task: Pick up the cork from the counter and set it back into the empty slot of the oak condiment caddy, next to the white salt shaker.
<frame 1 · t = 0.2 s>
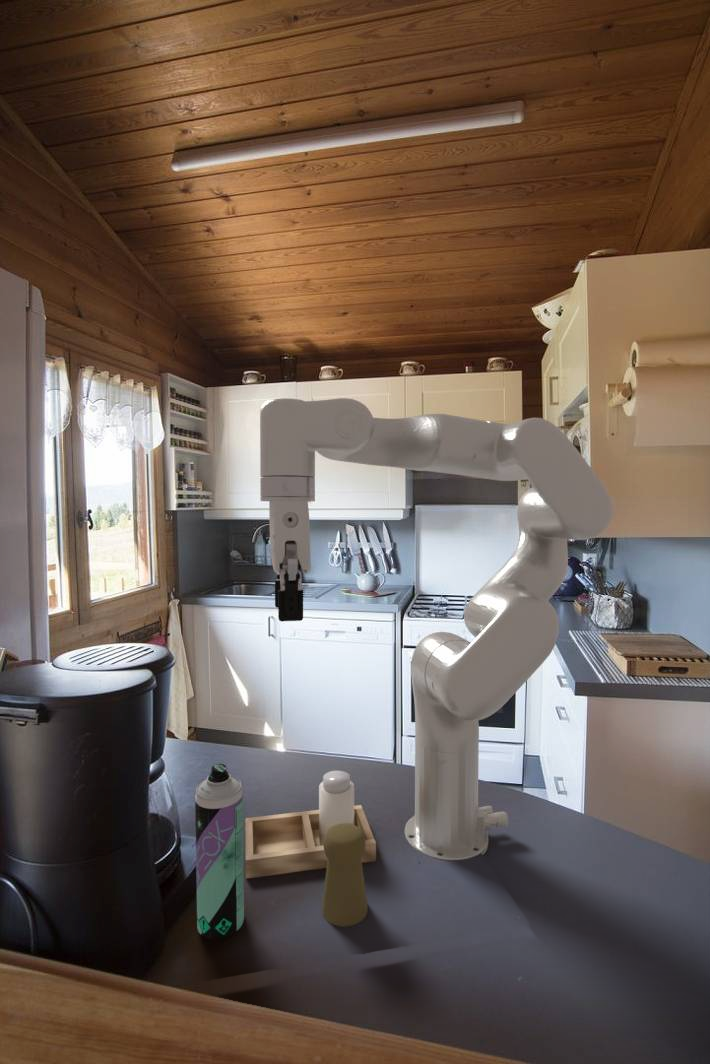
hand: (288, 613, 75), 36 cm above the countertop, tool pointing down, fingers open, 9 cm apart
salt shaker: (336, 843, 80), point 1 cm above the countertop, touching caddy
caddy: (308, 853, 79), on the countertop
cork: (344, 917, 67), on the countertop
spray can: (220, 930, 65), on the countertop
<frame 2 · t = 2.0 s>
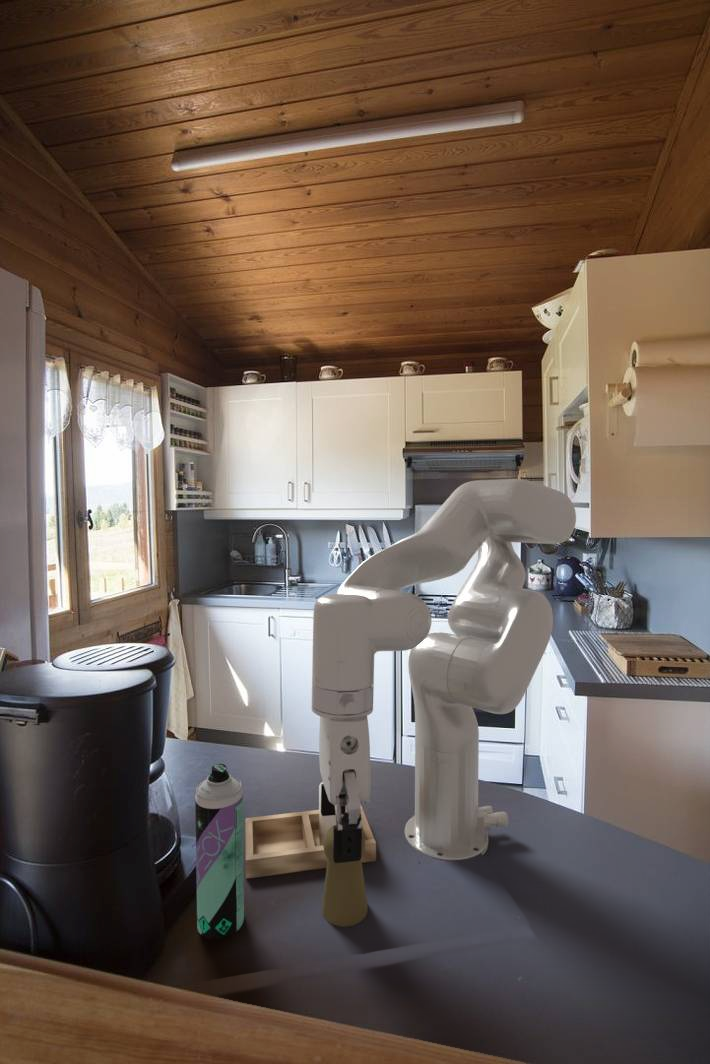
hand: (339, 835, 66), 11 cm above the countertop, tool pointing down, fingers open, 9 cm apart
nothing on the countertop moved.
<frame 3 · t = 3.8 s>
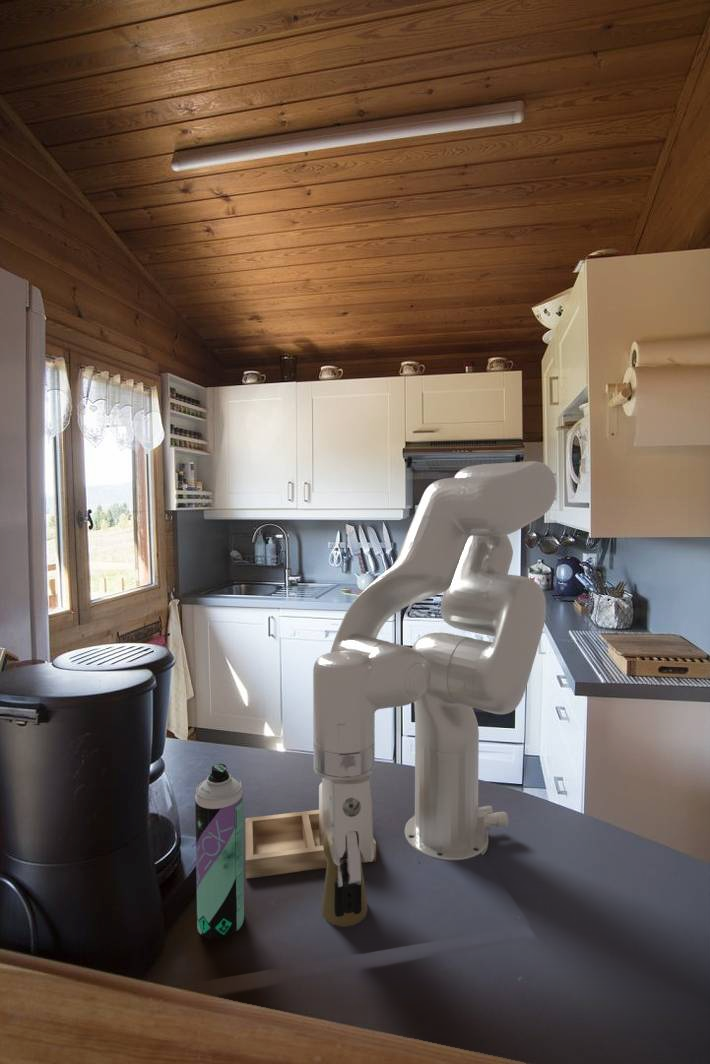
hand: (344, 897, 67), 2 cm above the countertop, tool pointing down, fingers closed on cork, 4 cm apart
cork: (344, 917, 67), on the countertop, touching gripper
everything else where it was.
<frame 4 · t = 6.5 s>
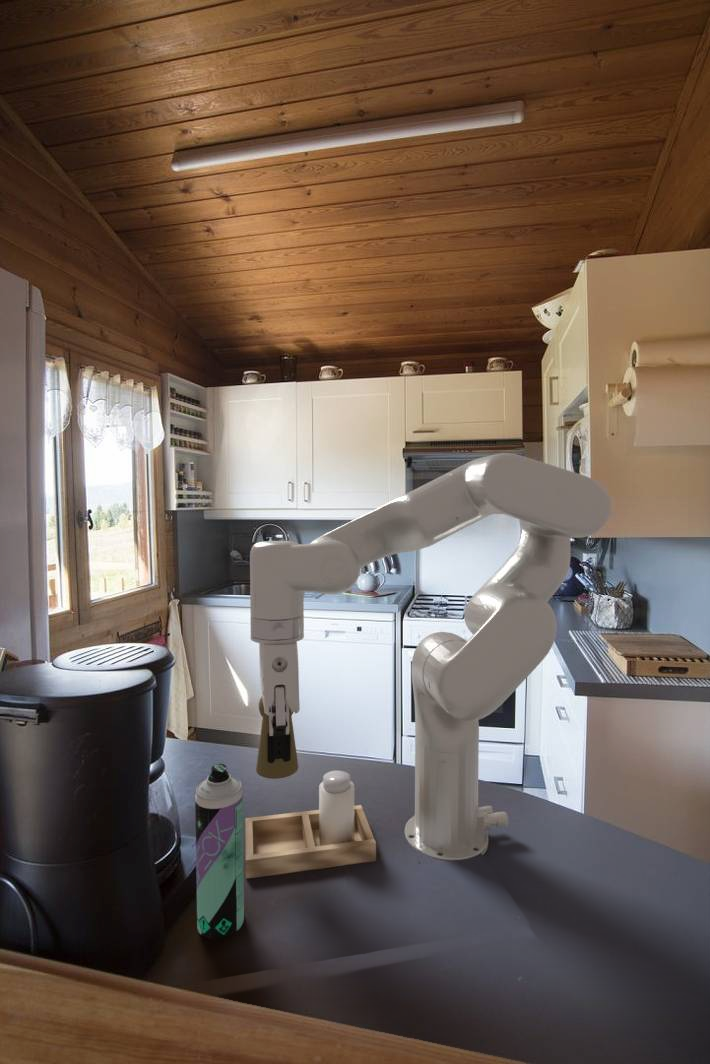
hand: (277, 752, 78), 16 cm above the countertop, tool pointing down, fingers closed on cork, 4 cm apart
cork: (277, 769, 78), point 13 cm above the countertop, touching gripper
everything else where it was.
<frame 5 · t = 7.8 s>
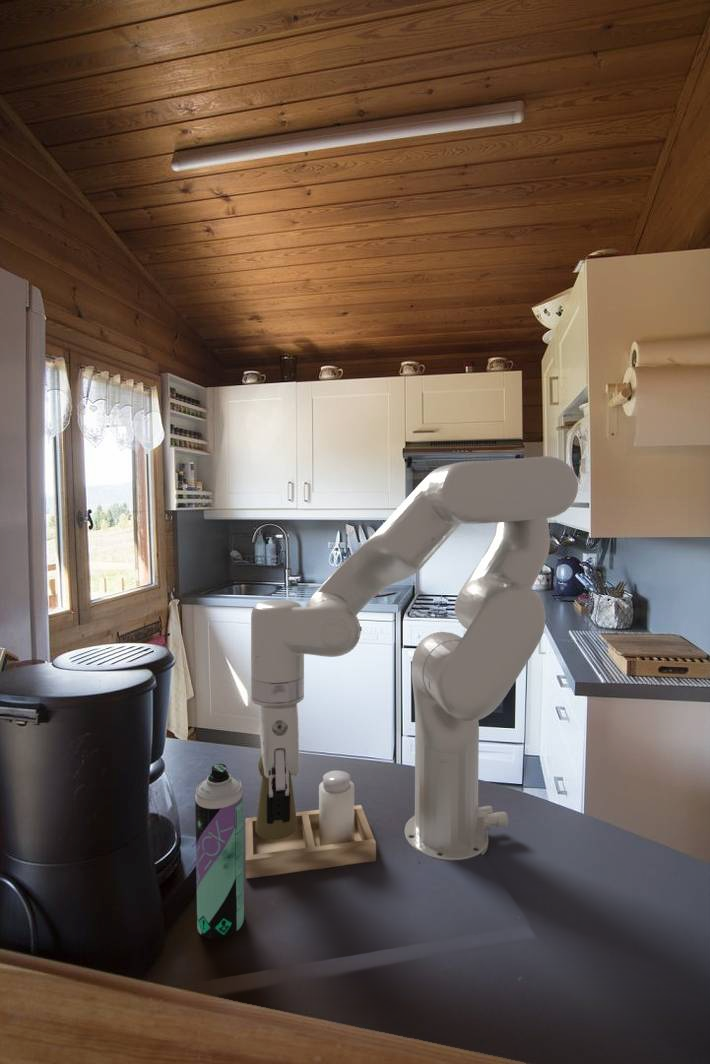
hand: (277, 811, 78), 7 cm above the countertop, tool pointing down, fingers closed on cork, 4 cm apart
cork: (276, 828, 78), point 4 cm above the countertop, touching gripper
everything else where it was.
when the fingers open (5 cm above the countertop, at t = 9.0 s): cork drops 1 cm, resting on caddy.
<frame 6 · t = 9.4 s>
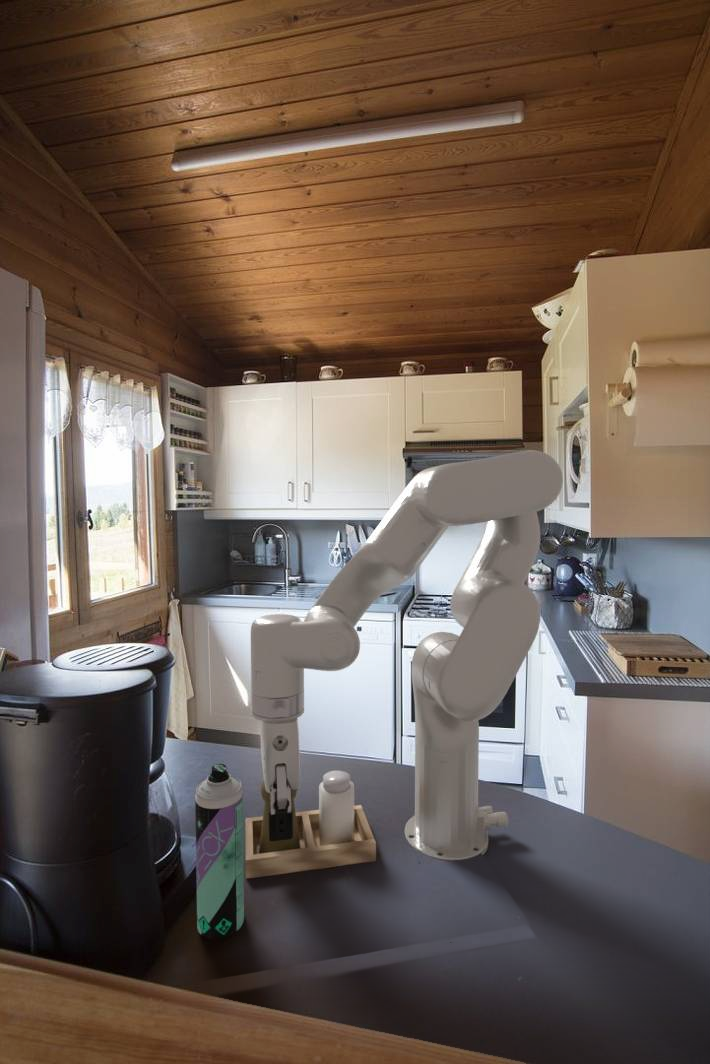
hand: (278, 820, 78), 5 cm above the countertop, tool pointing down, fingers open, 8 cm apart
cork: (279, 851, 78), point 1 cm above the countertop, touching caddy
everything else where it was.
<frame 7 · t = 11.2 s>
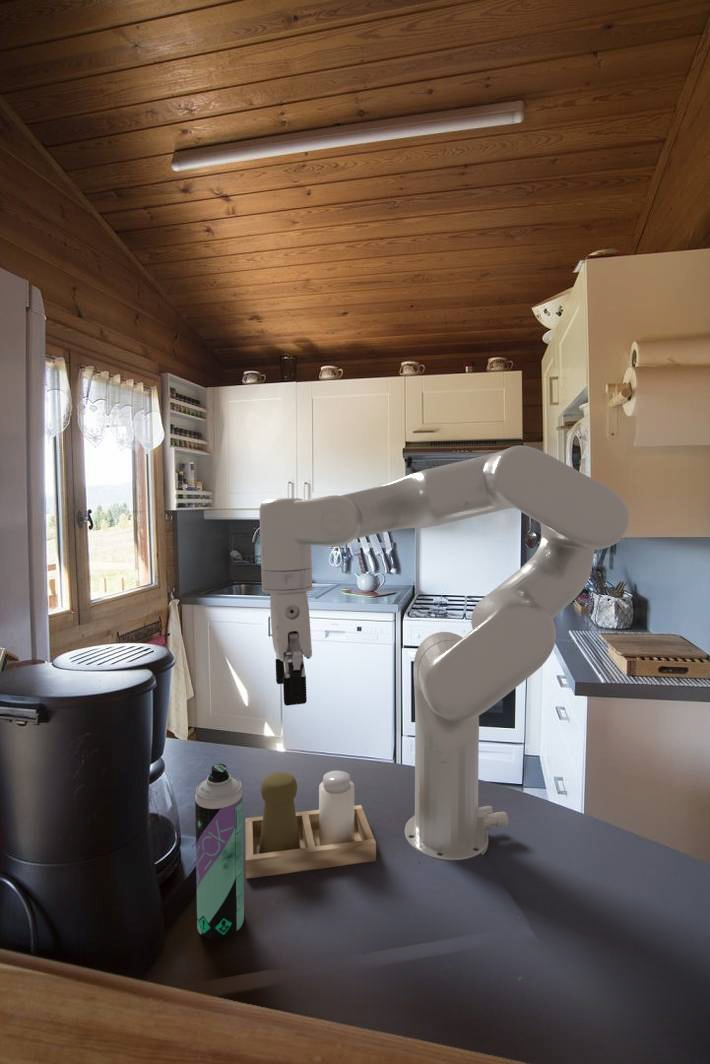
hand: (290, 692, 82), 23 cm above the countertop, tool pointing down, fingers open, 9 cm apart
nothing on the countertop moved.
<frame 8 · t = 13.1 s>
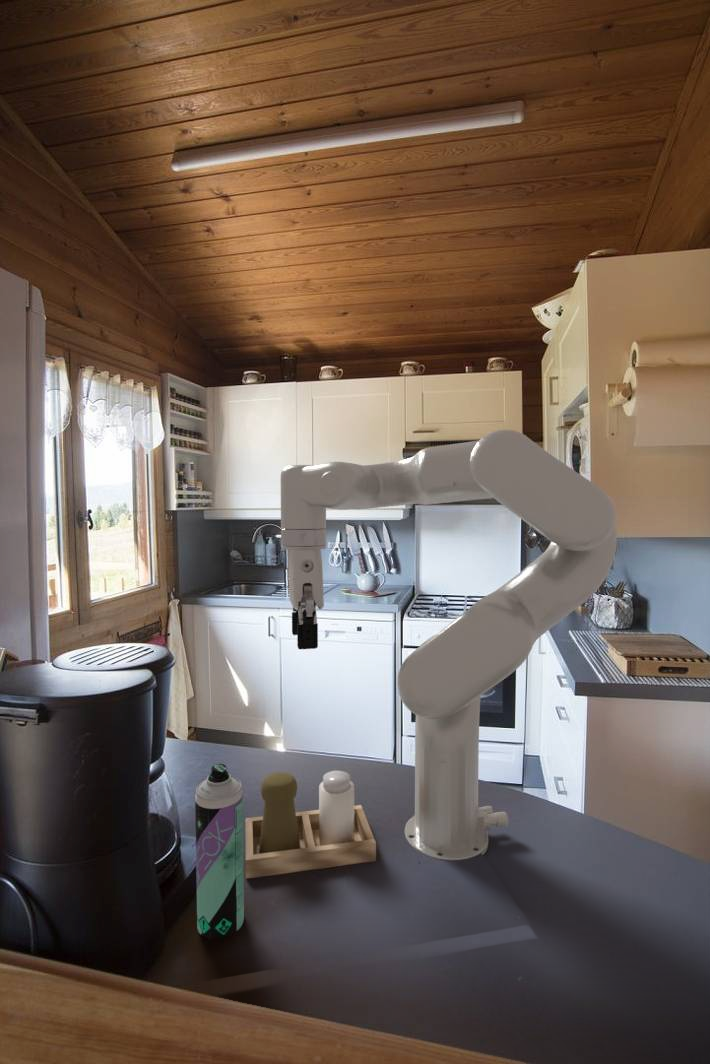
hand: (304, 641, 91), 28 cm above the countertop, tool pointing down, fingers open, 9 cm apart
nothing on the countertop moved.
at the end: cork 0.3 cm from the target spot on the caddy, point 0.8 cm above the caddy's base; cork tilted 0°; the gripper is holding nothing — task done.
